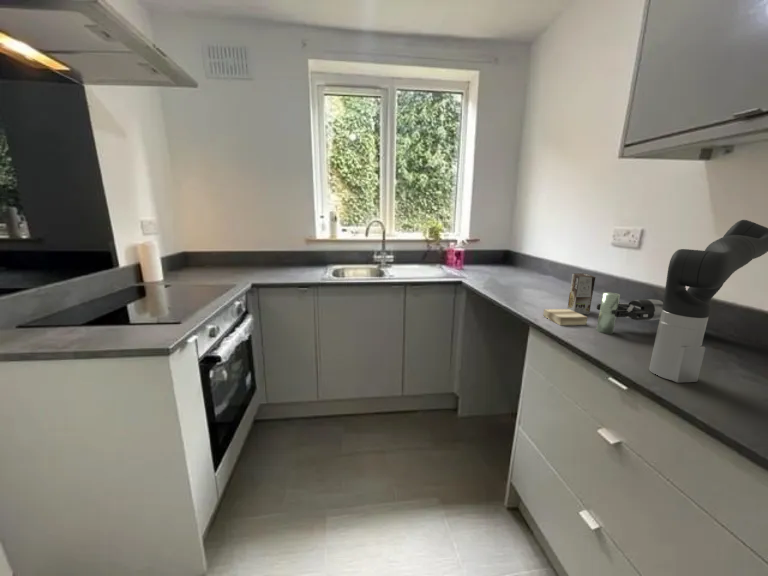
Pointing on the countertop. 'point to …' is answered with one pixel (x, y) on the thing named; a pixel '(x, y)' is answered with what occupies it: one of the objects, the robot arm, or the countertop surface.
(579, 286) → the coffee box
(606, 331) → the pale green cylinder
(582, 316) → the shelf stand
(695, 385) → the countertop surface
